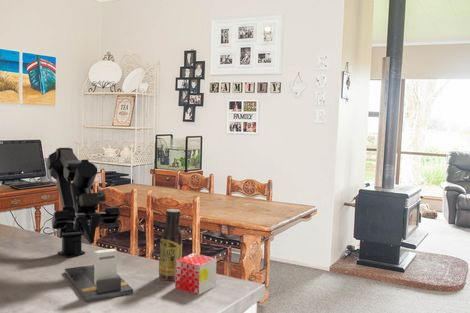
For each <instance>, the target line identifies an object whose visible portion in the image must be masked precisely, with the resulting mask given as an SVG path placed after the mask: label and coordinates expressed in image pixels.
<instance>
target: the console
mask: <svg viewBox="0 0 470 313" xmlns="http://www.w3.org/2000/svg"><path fill="white" fill-rule="evenodd" d="M64 274H65V275H66V277H67V278H68V279H69V281H70V282H71V283H72V285H73V286H74V287H75V289H76V290H77V292H78V293H79V294H80V296H81V297H82V298H83V299H84V301H85V302H86V303H87V302H93V301H98V300H99V301H100V300H103V299H110V298H111V299H112V298H115V297H116V298H118V297H121V296H127V295H134V288H132V287H131V286H130V285H129V284H128V282H126V281H125V280H124V279H123V278H122V277H121V276H120V275H119V274H118V273H117V278H112V279H105V280H99V281H96V285H95V284H94V264H90V265H84V266H83V265H82V266H76V267H68V268H67V267H66V268H64Z"/></svg>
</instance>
